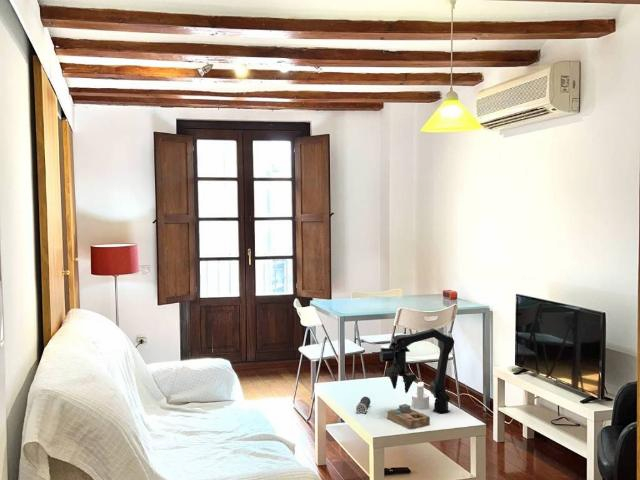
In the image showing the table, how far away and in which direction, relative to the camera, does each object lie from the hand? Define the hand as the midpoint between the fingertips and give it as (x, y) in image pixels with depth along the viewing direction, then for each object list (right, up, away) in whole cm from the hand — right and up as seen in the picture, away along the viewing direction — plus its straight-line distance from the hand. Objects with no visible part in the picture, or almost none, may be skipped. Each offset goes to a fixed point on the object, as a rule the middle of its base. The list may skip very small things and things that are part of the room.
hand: (400, 390), depth 331 cm
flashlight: (-18, -12, +9) cm, 24 cm away
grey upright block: (+1, -13, -7) cm, 15 cm away
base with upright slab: (+12, -12, +14) cm, 22 cm away
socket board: (+3, -13, -11) cm, 17 cm away
